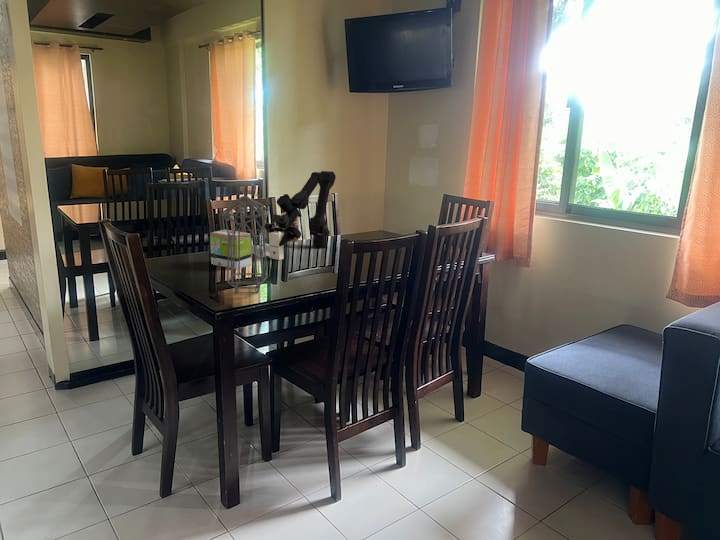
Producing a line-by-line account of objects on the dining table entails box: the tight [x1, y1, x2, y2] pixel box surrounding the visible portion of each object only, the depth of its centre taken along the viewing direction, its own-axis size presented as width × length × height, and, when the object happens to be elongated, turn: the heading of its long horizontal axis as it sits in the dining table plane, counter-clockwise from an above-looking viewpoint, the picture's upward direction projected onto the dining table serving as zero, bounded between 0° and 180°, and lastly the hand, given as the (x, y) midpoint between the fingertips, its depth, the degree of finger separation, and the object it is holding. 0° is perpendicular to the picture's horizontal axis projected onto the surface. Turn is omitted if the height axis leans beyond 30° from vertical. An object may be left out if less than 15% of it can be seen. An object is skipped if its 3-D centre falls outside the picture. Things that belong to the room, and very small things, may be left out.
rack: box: [251, 242, 269, 258], centre depth 254 cm, size 13×9×4 cm
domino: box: [268, 232, 285, 261], centre depth 244 cm, size 6×3×12 cm, turn 57°
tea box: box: [209, 228, 252, 270], centre depth 230 cm, size 15×10×15 cm
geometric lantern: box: [219, 195, 270, 294], centre depth 190 cm, size 16×16×35 cm
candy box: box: [280, 212, 300, 243], centre depth 284 cm, size 9×4×15 cm, turn 109°
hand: (274, 245), depth 243 cm, fingers closed on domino, 6 cm apart
